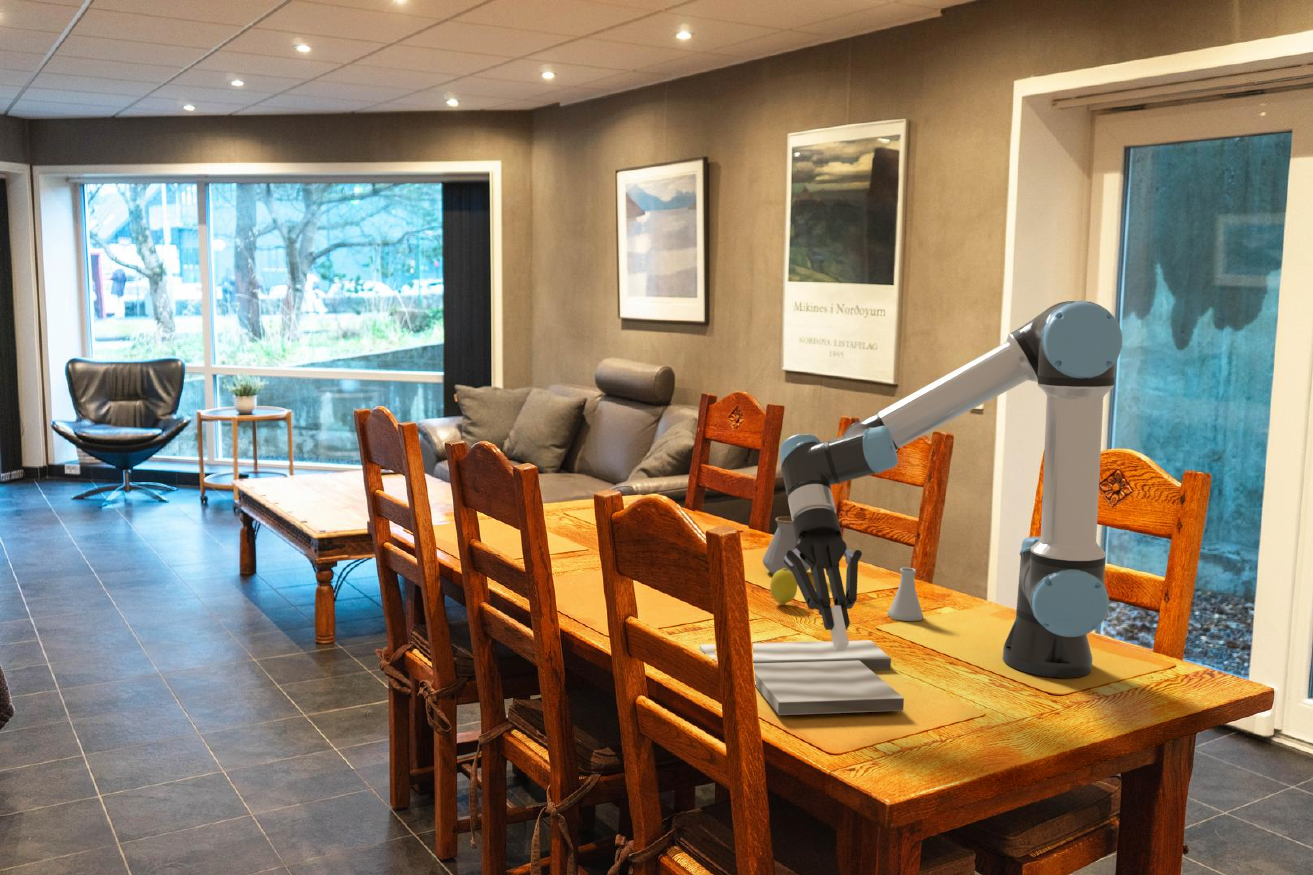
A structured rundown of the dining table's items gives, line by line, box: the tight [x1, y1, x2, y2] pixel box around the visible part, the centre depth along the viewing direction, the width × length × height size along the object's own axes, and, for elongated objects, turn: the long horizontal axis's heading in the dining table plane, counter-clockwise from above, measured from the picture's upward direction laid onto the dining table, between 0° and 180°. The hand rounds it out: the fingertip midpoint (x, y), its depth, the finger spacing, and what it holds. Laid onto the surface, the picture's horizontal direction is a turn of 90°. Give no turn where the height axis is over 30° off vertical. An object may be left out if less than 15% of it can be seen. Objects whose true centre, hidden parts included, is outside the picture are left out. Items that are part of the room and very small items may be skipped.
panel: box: [754, 660, 905, 716], centre depth 180 cm, size 20×20×2 cm
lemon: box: [769, 568, 798, 606], centre depth 230 cm, size 6×6×8 cm
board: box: [699, 639, 892, 671], centre depth 195 cm, size 10×32×2 cm, turn 99°
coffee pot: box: [762, 516, 810, 576], centre depth 252 cm, size 21×12×15 cm, turn 30°
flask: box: [886, 567, 924, 622], centre depth 224 cm, size 7×7×10 cm
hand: (841, 647), depth 170 cm, fingers closed
